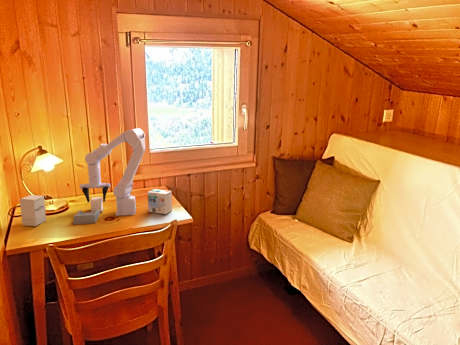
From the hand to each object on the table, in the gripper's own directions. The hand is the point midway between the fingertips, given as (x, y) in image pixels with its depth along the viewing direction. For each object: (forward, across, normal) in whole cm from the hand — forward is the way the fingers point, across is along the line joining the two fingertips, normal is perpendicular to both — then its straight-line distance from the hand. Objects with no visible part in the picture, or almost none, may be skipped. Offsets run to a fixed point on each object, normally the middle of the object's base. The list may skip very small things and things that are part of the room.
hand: (96, 201), depth 188 cm
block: (+4, 0, 0) cm, 4 cm away
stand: (+5, 0, 0) cm, 5 cm away
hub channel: (+5, +3, +11) cm, 13 cm away
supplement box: (+6, +26, +13) cm, 30 cm away
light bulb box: (+5, -32, +5) cm, 33 cm away
